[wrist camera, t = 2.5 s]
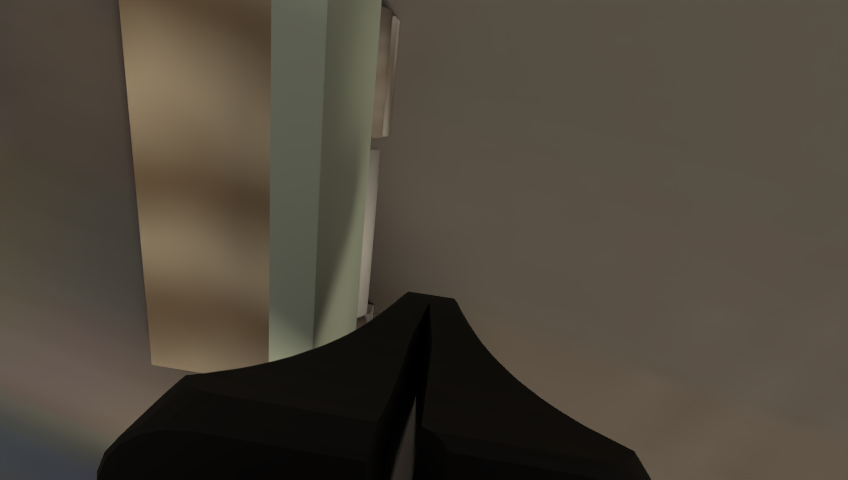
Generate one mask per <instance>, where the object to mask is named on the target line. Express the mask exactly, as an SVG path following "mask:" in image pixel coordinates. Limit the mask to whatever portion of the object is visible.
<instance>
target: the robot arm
mask: <svg viewBox="0 0 848 480" xmlns="http://www.w3.org/2000/svg"><path fill="white" fill-rule="evenodd" d="M415 397H416V409H415V428H414V448H413V467H412V480H651V479H650V477H649V475H648V473H647V472H646V470H645V468H644V467H643V465H642V463H641V462H640V460H639V458H638V457H637V455H636V453H635V452H634V451H633V450H631V449H629V448H627V447H625V446H623V445H621V444H619V443H617V442H615V441H613V440H611V439H609V438H607V437H605V436H603V435H601V434H599V433H597V432H595V431H593V430H591V429H590V428H588V427H586V426H584V425H582V424H580V423H579V422H577V421H575V420H574V419H572V418H571V417H569V416H567V415H566V414H564V413H562V412H561V411H559V410H558V409H556V408H555V407H553V406H552V405H550V404H549V403H547V402H546V401H544V400H543V399H541V398H540V397H539V396H537V395H536V394H535V393H534V392H532V391H531V390H530V389H528V388H527V387H526V386H525V385H523V384H522V383H521V382H520V381H518V380H517V379H516V378H515V377H514V376H513V375H512V374H510V373H509V372H508V371H507V370H506V369H505V368H504V367H503V366H502V365H501V364H500V363H499V362H498V361H497V360H496V359H495V358H494V357H493V356H492V355H491V353H490V352H489V351H488V350H487V349H486V347H485V346H484V345H483V344H482V342H481V341H480V340H479V338H478V337H477V335H476V334H475V333H474V331H473V330H472V328H471V327H470V325H469V323H468V322H467V320H466V318H465V317H464V315H463V313H462V311H461V309H460V307H459V305H458V303H457V302H456V301H455V299H453V298H446V297H440V296H433V295H427V294H420V293H414V292H407V293H406V294H404V295H403V296H402V297H401V298H399V299H398V300H397V301H396V302H395V303H393V304H392V305H391V306H390V307H389V308H387V309H386V310H385V311H383V312H382V313H381V314H379V315H378V316H377V317H375V318H374V319H372V320H371V321H369V322H368V323H366V324H364V325H363V326H361V327H360V328H358V329H356V330H355V331H353V332H351V333H349V334H347V335H345V336H343V337H341V338H339V339H337V340H334V341H332V342H330V343H328V344H325V345H323V346H320V347H317V348H314V349H311V350H308V351H305V352H303V353H300V354H297V355H294V356H291V357H287V358H283V359H279V360H276V361H272V362H267V363H263V364H258V365H254V366H249V367H243V368H238V369H231V370H223V371H216V372H209V373H202V374H194V375H186V376H184V377H183V378H182V379H181V380H180V381H178V382H177V383H176V384H175V385H174V386H173V387H172V388H171V389H169V390H168V391H167V392H166V393H165V394H164V395H163V396H162V397H161V398H159V399H158V400H157V401H156V402H155V403H154V404H153V405H152V406H151V407H150V408H149V409H148V410H147V411H146V412H145V413H144V414H143V415H141V416H140V417H139V418H138V419H137V420H136V421H135V422H134V423H133V424H132V425H131V426H130V427H129V428H128V429H127V430H126V431H125V432H124V433H122V434H121V435H120V436H119V437H118V438H117V440H116V441H115V442H114V443H113V444H112V445H111V446H110V447H109V448H108V449H107V450H106V451H105V453H104V455H103V458H102V460H101V463H100V465H99V468H98V470H97V480H392V479H393V475H394V471H395V467H396V464H397V460H398V457H399V453H400V450H401V446H402V443H403V439H404V436H405V432H406V429H407V426H408V422H409V419H410V415H411V412H412V408H413V405H414V401H415Z"/></svg>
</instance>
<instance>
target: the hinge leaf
mask: <svg viewBox="0 0 848 480" xmlns="http://www.w3.org/2000/svg"><path fill="white" fill-rule="evenodd" d="M381 3H382V0H271V117H270V253H269V362H272V361H276V360H279V359H283V358H287V357H291V356H294V355H297V354H300V353H303V352H305V351H308V350H311V349H314V348H317V347H320V346H323V345H325V344H328V343H330V342H332V341H334V340H337V339H339V338H341V337H343V336H345V335H347V334H349V333H351V332H353V331H355V330H356V322H357V318H358V317H361V316H363V315H365V314H366V313H367V307H368V296H369V284H370V273H371V261H372V249H373V238H374V226H375V215H376V203H377V191H378V180H379V168H380V157H381V149H378V148H374V147H370V144H371V131H372V118H373V105H374V93H375V80H376V67H377V54H378V42H379V29H380V16H381Z"/></svg>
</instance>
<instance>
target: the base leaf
mask: <svg viewBox="0 0 848 480" xmlns="http://www.w3.org/2000/svg"><path fill="white" fill-rule="evenodd" d="M119 9H120V20H121V31H122V42H123V53H124V64H125V75H126V86H127V97H128V108H129V119H130V130H131V141H132V152H133V163H134V174H135V185H136V196H137V207H138V218H139V229H140V240H141V251H142V262H143V273H144V284H145V295H146V306H147V317H148V328H149V339H150V350H151V361H152V365H156V366H162V367H168V368H174V369H180V370H186V371H192V372H198V373H209V372H216V371H223V370H231V369H238V368H243V367H249V366H254V365H258V364H263V363H267V362H269V253H270V117H271V0H119ZM399 26H400V21H399V20H398V18H397V17H396V16H393V11H392V10H390V9H388V8H385V7H382V6H381V16H380V29H379V42H378V54H377V67H376V80H375V93H374V105H373V118H372V131H371V138H382V136H384V137H386V136H389V135H390V124H391V113H392V102H393V92H394V81H395V70H396V59H397V48H398V37H399ZM373 311H374V305H371V304H368V307H367V313H366V314H365V315H363V316H361V317H358V318H357V322H356V329H358V328H360V327H361V326H363V325H364V324H366V323H368V322H369V321H371V320H372V319H373Z"/></svg>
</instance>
